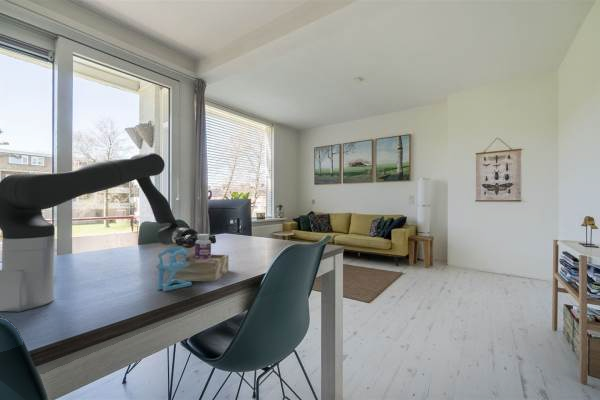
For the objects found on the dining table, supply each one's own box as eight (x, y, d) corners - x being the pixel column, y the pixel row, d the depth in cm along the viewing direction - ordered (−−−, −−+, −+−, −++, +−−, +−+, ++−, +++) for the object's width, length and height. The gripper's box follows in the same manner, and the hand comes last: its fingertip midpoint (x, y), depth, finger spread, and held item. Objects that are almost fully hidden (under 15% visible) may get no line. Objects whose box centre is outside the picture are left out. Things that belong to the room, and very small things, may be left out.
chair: (151, 289, 79) (152, 249, 79) (175, 281, 86) (176, 245, 86) (169, 293, 75) (169, 251, 76) (192, 285, 83) (192, 247, 83)
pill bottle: (200, 263, 91) (200, 235, 91) (191, 261, 94) (192, 234, 94) (213, 260, 95) (214, 234, 95) (205, 258, 98) (205, 233, 98)
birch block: (215, 281, 87) (215, 263, 87) (173, 280, 87) (174, 262, 87) (228, 270, 101) (228, 254, 101) (192, 269, 101) (192, 254, 101)
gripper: (166, 229, 100) (183, 233, 89) (202, 227, 111) (221, 230, 99) (166, 248, 100) (183, 255, 89) (202, 244, 110) (221, 249, 99)
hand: (203, 241), depth 94 cm, fingers open, 8 cm apart
